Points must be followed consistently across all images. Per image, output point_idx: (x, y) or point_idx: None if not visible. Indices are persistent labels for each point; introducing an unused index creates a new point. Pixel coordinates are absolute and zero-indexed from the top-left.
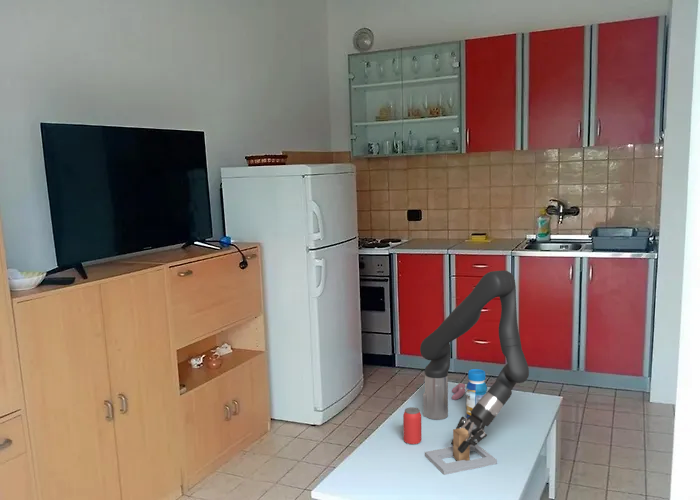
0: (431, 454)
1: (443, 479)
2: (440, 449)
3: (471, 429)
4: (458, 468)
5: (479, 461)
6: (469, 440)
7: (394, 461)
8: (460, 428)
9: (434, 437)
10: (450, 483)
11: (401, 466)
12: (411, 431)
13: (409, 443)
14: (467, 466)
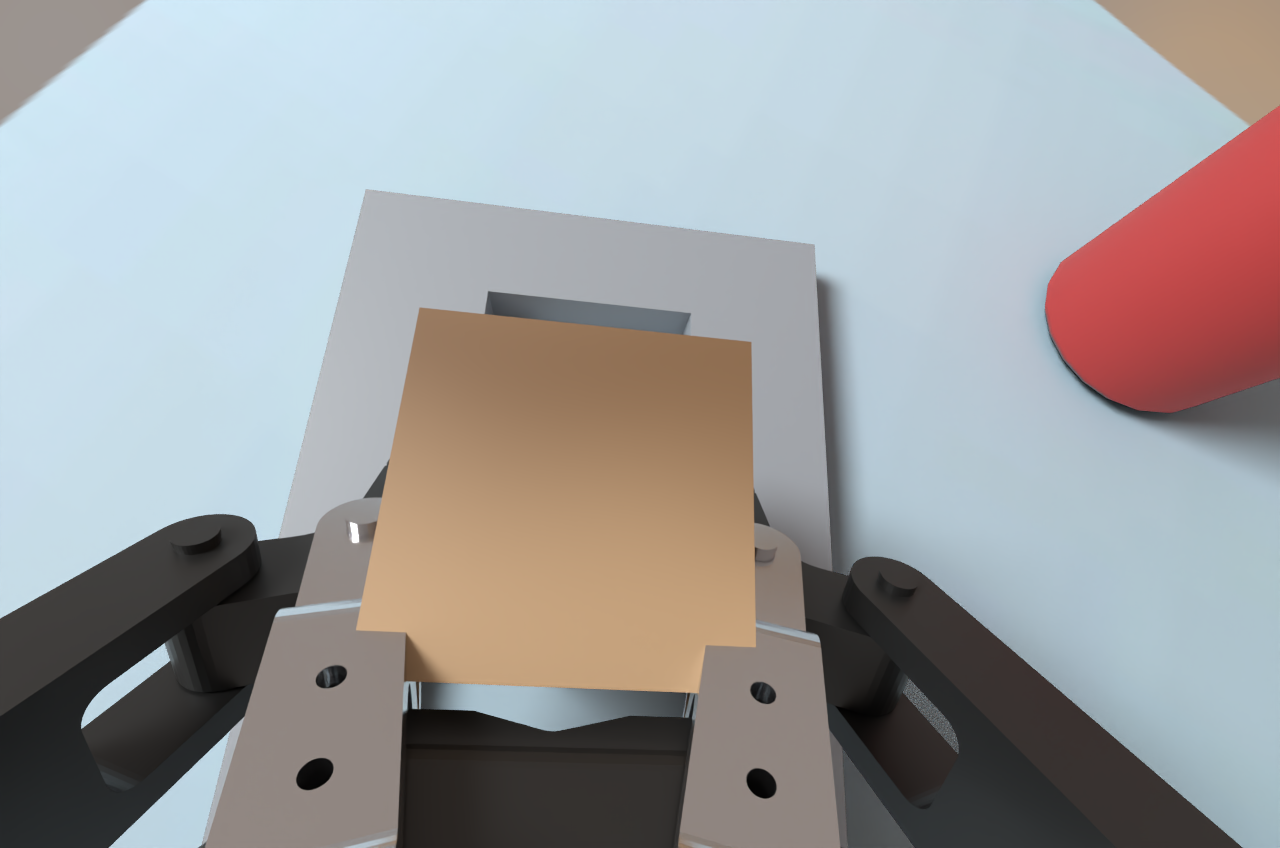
0: (738, 271)
1: (312, 175)
2: (811, 416)
3: (242, 773)
4: (331, 357)
5: None
6: (204, 523)
7: (794, 37)
8: (732, 560)
9: (1174, 588)
10: (207, 185)
11: (697, 35)
12: (1181, 184)
13: (1061, 264)
14: (301, 476)
